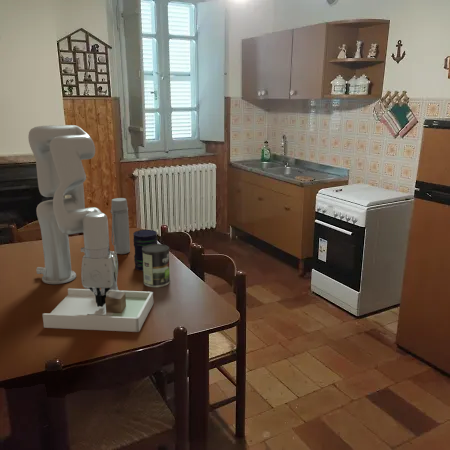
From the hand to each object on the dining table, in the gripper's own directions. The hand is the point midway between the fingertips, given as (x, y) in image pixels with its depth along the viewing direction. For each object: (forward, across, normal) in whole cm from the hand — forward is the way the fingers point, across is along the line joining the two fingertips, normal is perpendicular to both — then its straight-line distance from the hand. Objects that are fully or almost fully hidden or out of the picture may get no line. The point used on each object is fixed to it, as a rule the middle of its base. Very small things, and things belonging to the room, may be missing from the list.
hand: (101, 304), depth 145 cm
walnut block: (+1, +5, 0) cm, 5 cm away
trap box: (+4, 0, 0) cm, 4 cm away
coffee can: (+4, +12, +29) cm, 31 cm away
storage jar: (+4, +3, +45) cm, 45 cm away
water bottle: (+4, -13, +61) cm, 62 cm away
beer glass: (+4, -3, +18) cm, 18 cm away
